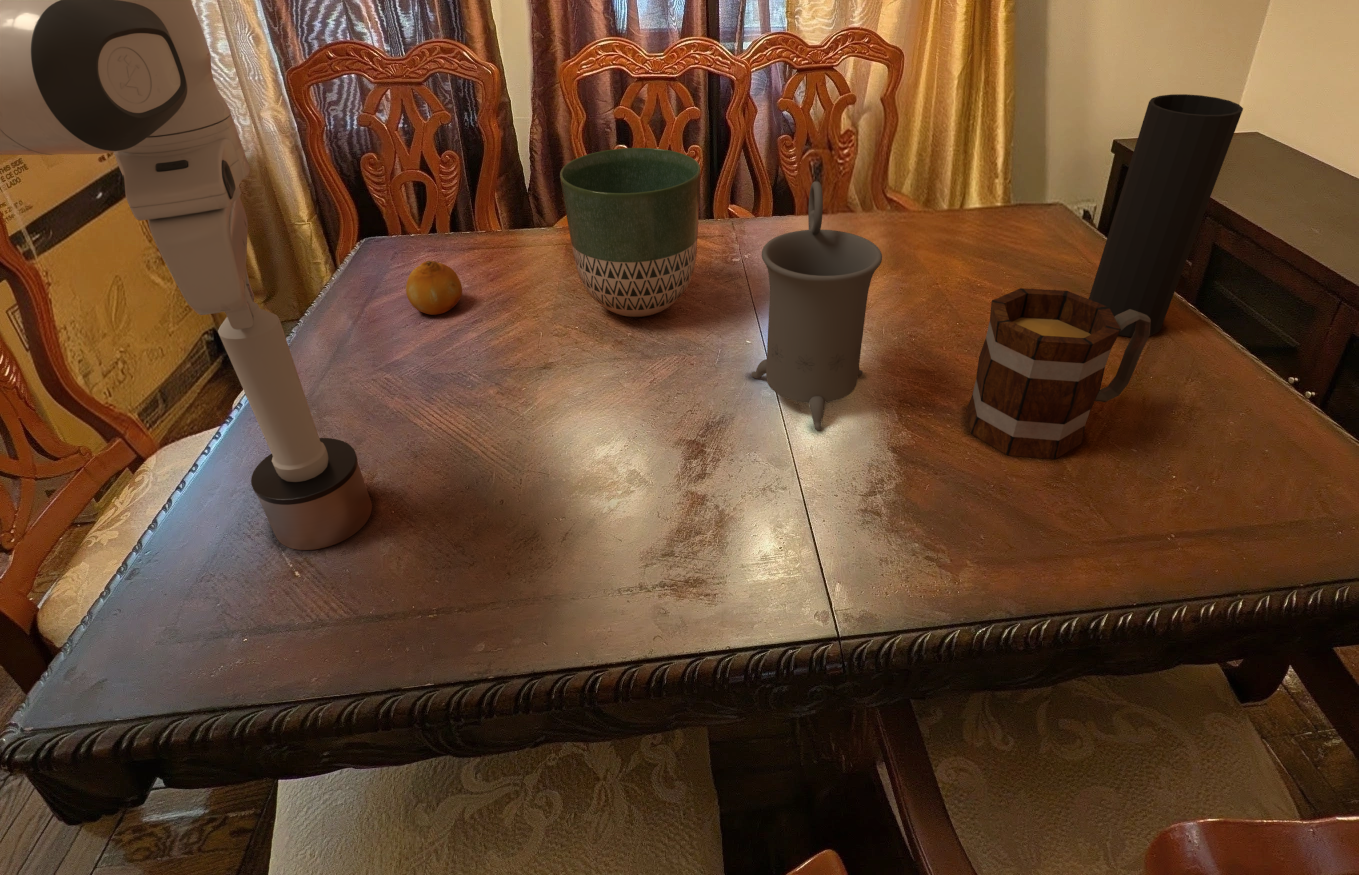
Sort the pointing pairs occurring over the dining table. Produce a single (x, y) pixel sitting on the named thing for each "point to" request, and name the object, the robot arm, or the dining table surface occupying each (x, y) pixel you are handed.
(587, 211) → the planter
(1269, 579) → the dining table surface
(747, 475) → the dining table surface
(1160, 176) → the vase
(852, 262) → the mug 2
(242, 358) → the bottle
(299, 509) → the canister
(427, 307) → the fruit
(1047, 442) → the mug
